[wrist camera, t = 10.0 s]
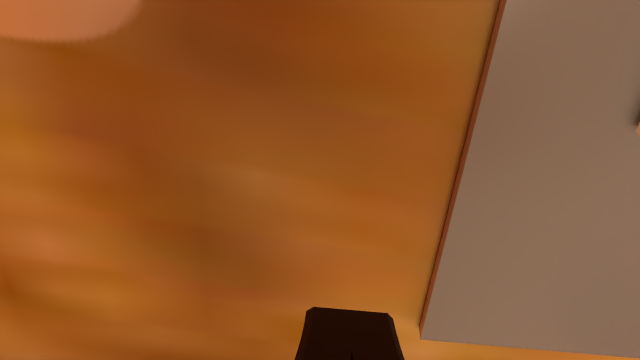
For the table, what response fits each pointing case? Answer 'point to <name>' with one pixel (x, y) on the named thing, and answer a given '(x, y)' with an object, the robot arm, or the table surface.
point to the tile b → (638, 130)
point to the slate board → (548, 188)
